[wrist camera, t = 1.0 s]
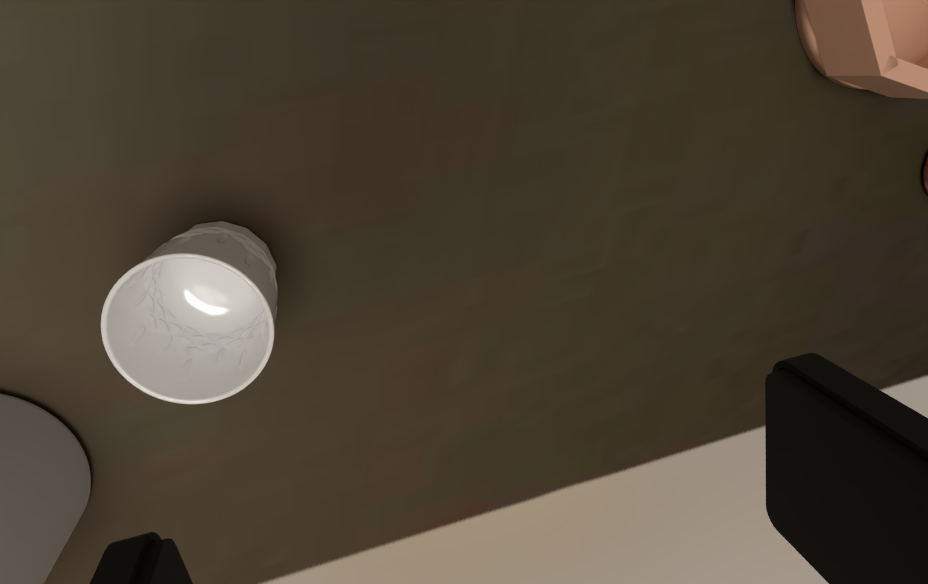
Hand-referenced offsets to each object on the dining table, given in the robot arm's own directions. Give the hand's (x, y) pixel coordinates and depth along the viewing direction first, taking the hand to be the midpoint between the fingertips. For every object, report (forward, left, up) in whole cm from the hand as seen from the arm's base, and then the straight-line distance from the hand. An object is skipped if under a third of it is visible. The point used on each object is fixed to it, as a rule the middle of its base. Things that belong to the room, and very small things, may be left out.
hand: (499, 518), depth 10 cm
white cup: (0, -11, -33) cm, 35 cm away
